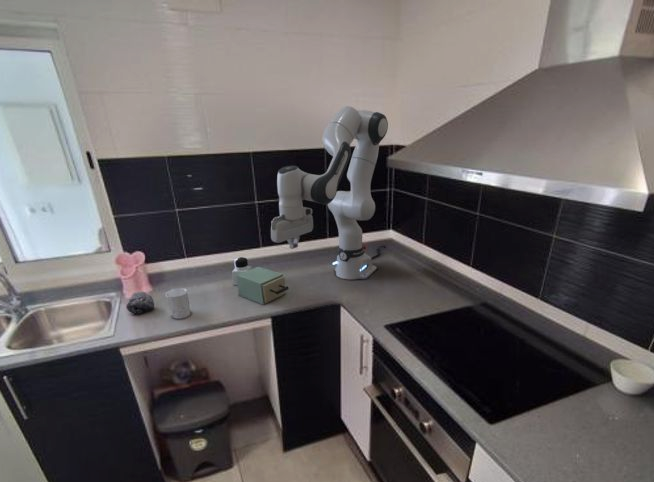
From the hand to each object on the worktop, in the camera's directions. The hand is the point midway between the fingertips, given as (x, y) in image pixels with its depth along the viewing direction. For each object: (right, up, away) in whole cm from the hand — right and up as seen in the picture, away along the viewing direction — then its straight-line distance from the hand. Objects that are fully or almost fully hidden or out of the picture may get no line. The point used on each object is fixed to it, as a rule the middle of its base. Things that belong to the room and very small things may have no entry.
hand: (293, 247), depth 150 cm
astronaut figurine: (-28, -11, +30) cm, 43 cm away
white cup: (-45, -27, +3) cm, 53 cm away
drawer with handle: (-13, -18, +16) cm, 27 cm away
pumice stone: (-64, -25, +6) cm, 69 cm away
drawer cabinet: (-16, -18, +18) cm, 30 cm away
